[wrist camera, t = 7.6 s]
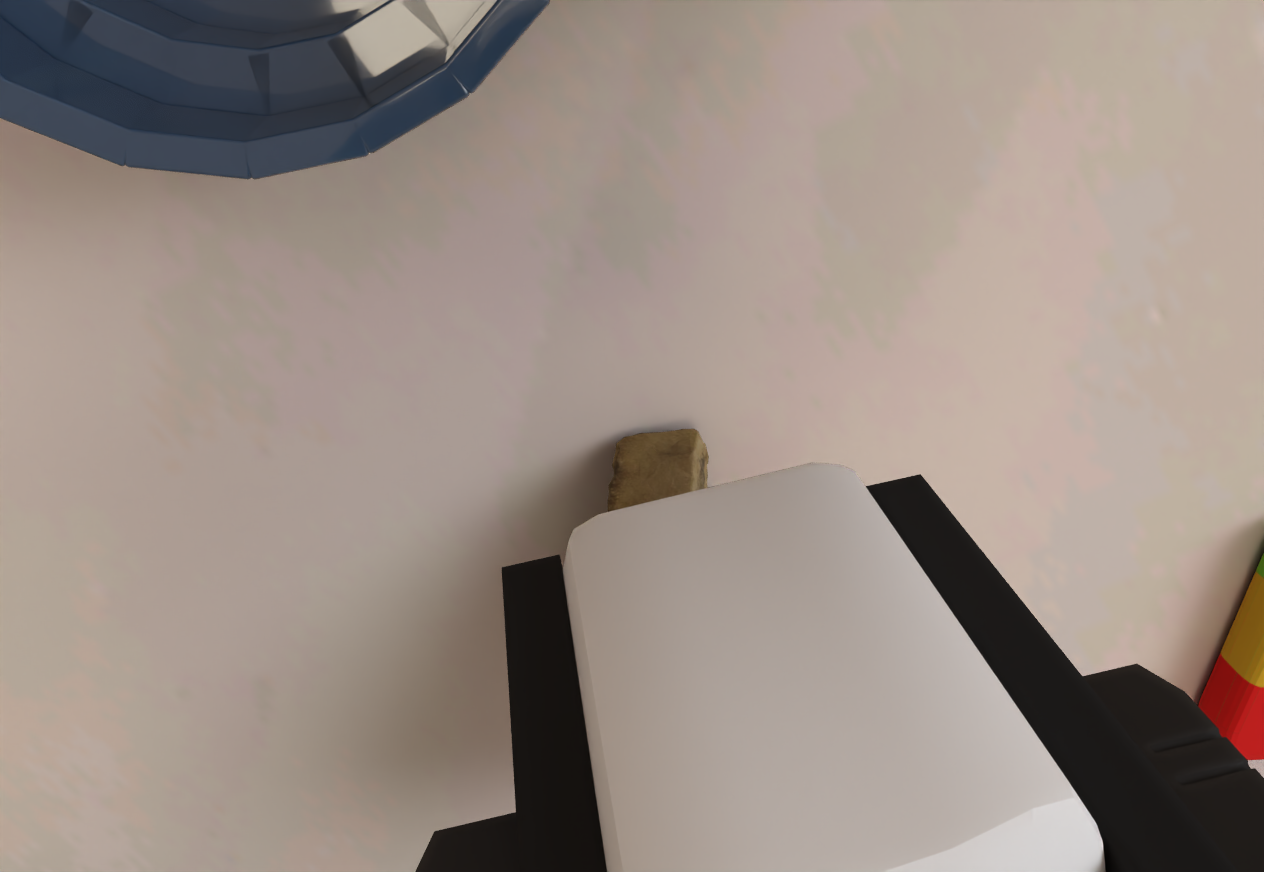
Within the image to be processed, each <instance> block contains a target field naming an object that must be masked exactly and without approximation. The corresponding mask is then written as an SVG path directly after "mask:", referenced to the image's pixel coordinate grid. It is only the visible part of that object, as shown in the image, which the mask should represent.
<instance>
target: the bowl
mask: <svg viewBox="0 0 1264 872" xmlns="http://www.w3.org/2000/svg"><path fill="white" fill-rule="evenodd" d="M549 2H550V0H0V118H1V119H4V120H6V121H9V122H11V123H14V124H16V125H19V126H21V127H24V128H26V129H29V130H32V131H34V132H37V133H39V134H42V135H44V136H47V137H49V138H52V139H54V140H57V141H59V142H62V143H64V144H67V145H70V146H72V147H75V148H77V149H80V150H82V151H85V152H87V153H90V154H92V155H95V156H97V157H100V158H102V159H105V160H107V161H110V162H113V163H115V164H118V165H120V166H125V165H126V166H127V167H131V168H141V169H150V170H160V171H170V172H180V173H190V174H200V175H210V176H219V177H229V178H239V179H251V178H253V179H260V178H265V177H269V176H274V175H279V174H284V173H289V172H293V171H298V170H303V169H308V168H313V167H317V166H322V165H327V164H332V163H337V162H341V161H346V160H351V159H356V158H361V157H365V156H368V155H369V153H374V152H376V151H378V150H379V149H381V148H383V147H385V146H386V145H388V144H390V143H391V142H393V141H395V140H396V139H398V138H400V137H401V136H403V135H405V134H406V133H408V132H410V131H411V130H413V129H415V128H417V127H418V126H420V125H422V124H423V123H425V122H427V121H428V120H430V119H432V118H433V117H435V116H437V115H438V114H440V113H442V112H444V111H445V110H447V109H449V108H450V107H452V106H454V105H455V104H457V103H459V102H460V101H462V100H464V99H465V98H467V97H468V96H469V93H473V92H474V91H475V90H476V89H477V88H478V87H479V86H480V84H481V83H482V82H483V81H484V80H485V79H486V77H487V76H488V75H489V74H490V73H491V71H492V70H493V69H494V68H495V67H496V66H497V64H498V63H499V62H500V61H501V60H502V58H503V57H504V56H505V55H506V54H507V53H508V51H509V50H510V49H511V48H512V47H513V46H514V44H515V43H516V42H517V41H518V40H519V38H520V37H521V36H522V35H523V34H524V33H525V31H526V30H527V29H528V28H529V27H530V26H531V24H532V23H533V22H534V21H535V20H536V18H537V17H538V16H539V15H540V14H541V13H542V11H543V10H544V9H545V8H546V7H547V6H548V4H549Z"/></svg>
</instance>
